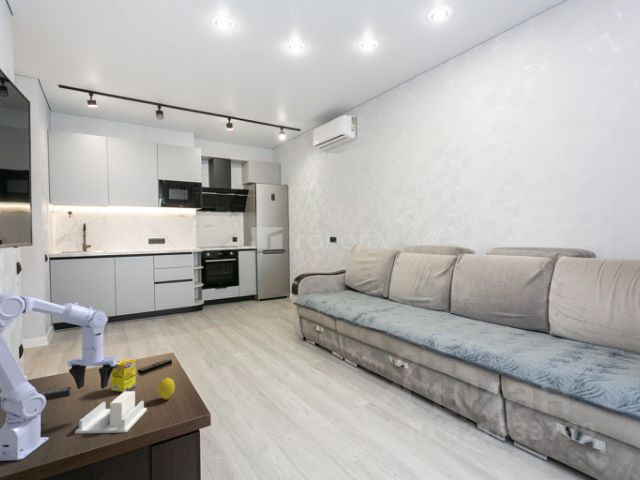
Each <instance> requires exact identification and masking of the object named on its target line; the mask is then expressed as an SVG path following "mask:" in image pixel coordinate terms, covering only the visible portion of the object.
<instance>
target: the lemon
mask: <svg viewBox="0 0 640 480" xmlns="http://www.w3.org/2000/svg"><path fill="white" fill-rule="evenodd" d="M158 384H159V385H158V387H157V392H158V393H157V394H158V396H159V397H160V398H161V399H163V400H165V401H167V400H168V399H169V398H171V397H172V396H173V394H175V389H176V388H175V387H176V386H175V385H176V384H175V382H174V380H173V379H172V378H170V377H165V378H163V379H161V381H160V382H159V383H158Z"/></svg>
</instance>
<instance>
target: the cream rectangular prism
mask: <svg viewBox="0 0 640 480" xmlns="http://www.w3.org/2000/svg"><path fill="white" fill-rule="evenodd" d="M135 407H136V391H135V390H132V391H131V390H129V391H124V392H123V393H120V394H119V395H118V396H117V397H116V398H114V399H113V400H112V401H111V402H110V403H109V409H110V426H122V419H123V418H124V417H125V416H126V415H127V414H128V413H129V412H131V411H132V410H133V409H134V408H135Z"/></svg>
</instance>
